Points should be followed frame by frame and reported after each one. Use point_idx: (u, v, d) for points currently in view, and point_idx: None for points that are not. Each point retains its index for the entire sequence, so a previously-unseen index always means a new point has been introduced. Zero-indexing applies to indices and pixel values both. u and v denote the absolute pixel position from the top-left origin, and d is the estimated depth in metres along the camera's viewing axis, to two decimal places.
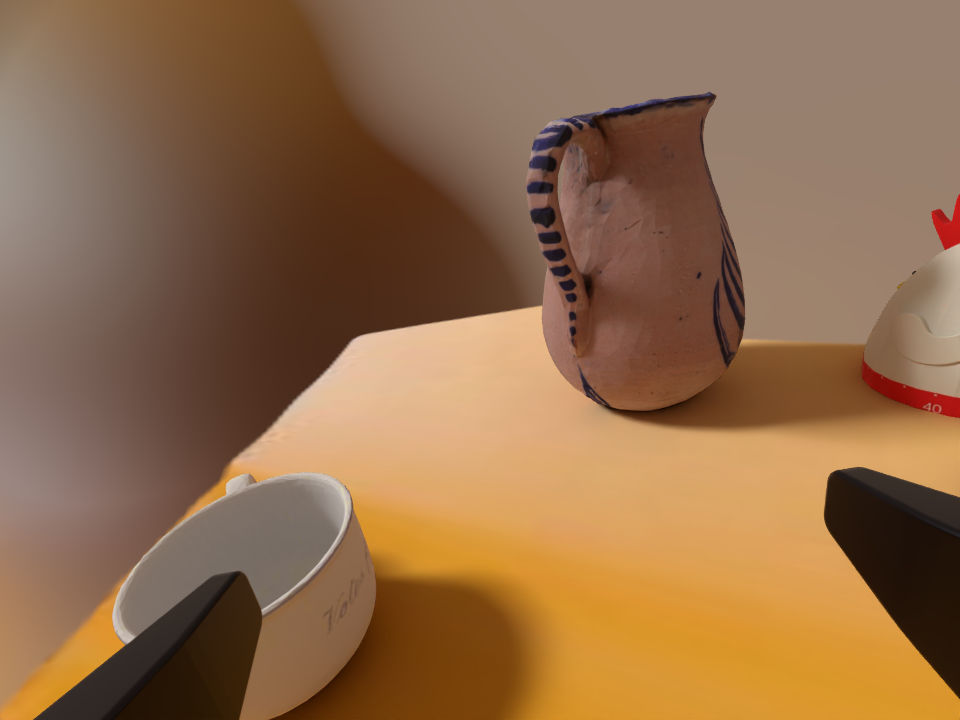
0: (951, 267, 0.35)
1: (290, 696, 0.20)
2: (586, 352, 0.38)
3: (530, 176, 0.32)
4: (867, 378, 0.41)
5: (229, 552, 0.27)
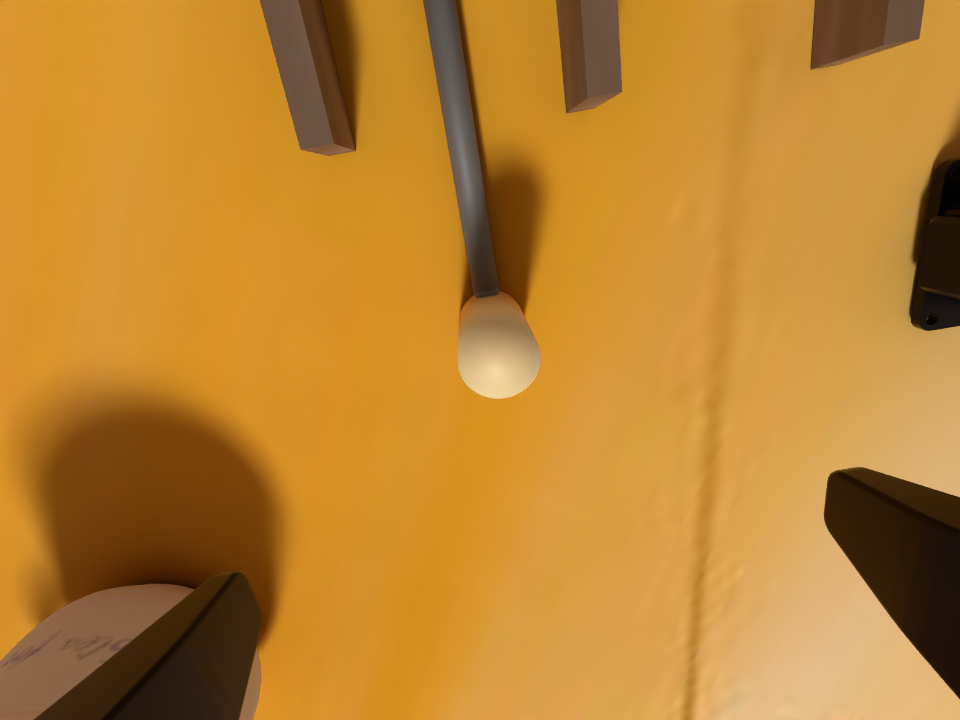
0: None
1: None
2: None
3: None
4: None
5: None
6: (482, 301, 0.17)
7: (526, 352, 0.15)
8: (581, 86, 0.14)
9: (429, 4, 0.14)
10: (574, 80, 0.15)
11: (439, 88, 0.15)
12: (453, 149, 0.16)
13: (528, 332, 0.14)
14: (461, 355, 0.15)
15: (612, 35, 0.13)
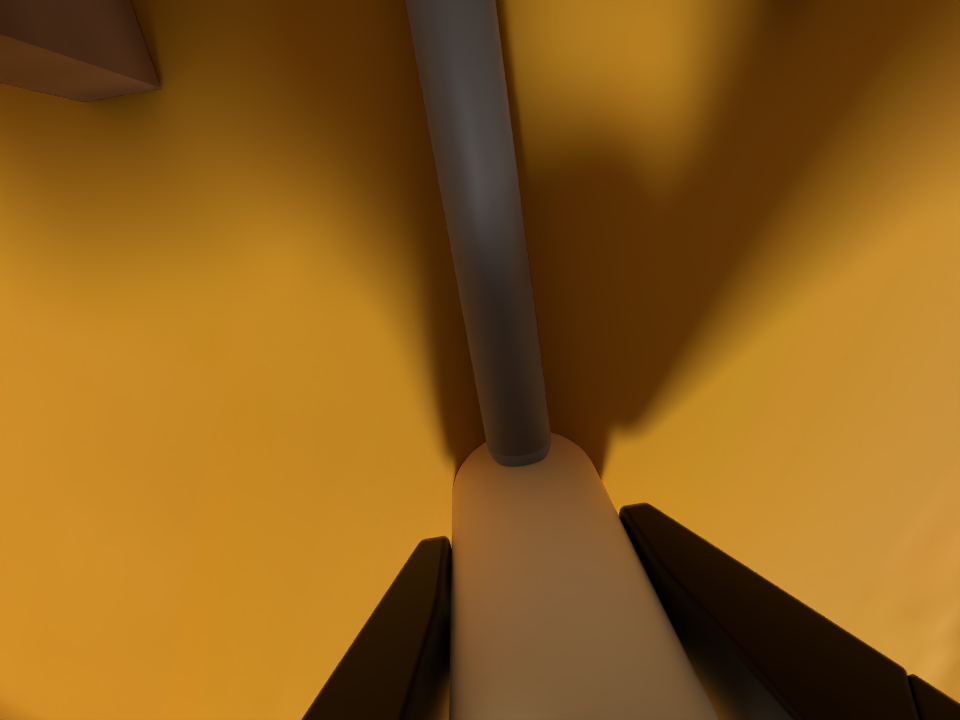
0: None
1: None
2: None
3: None
4: None
5: None
6: (514, 494, 0.06)
7: None
8: None
9: None
10: None
11: None
12: (432, 74, 0.05)
13: None
14: None
15: None
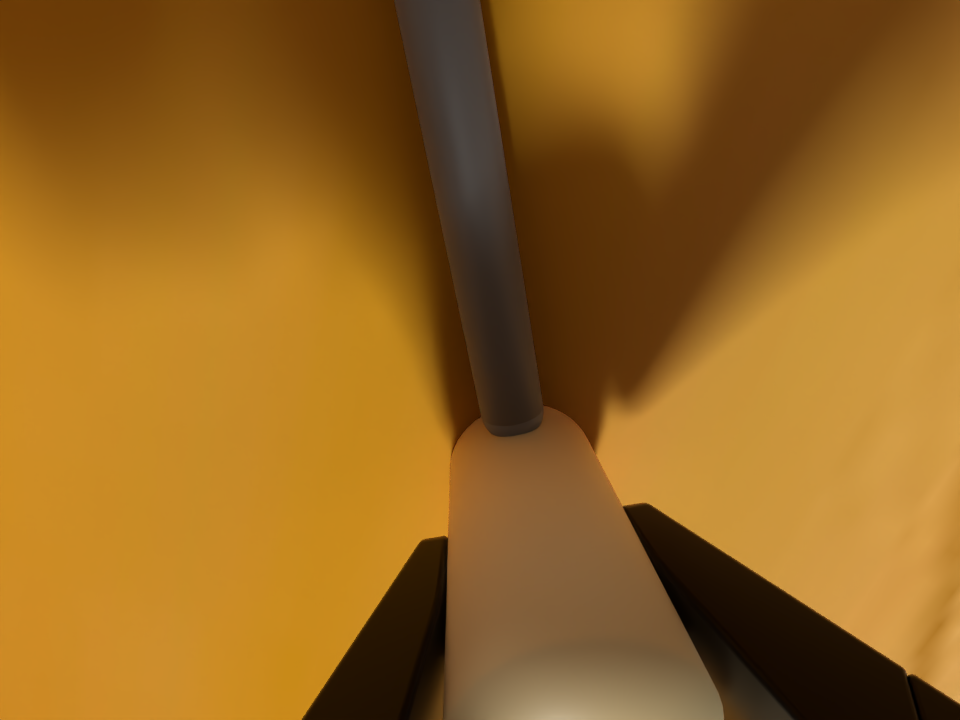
0: None
1: None
2: None
3: None
4: None
5: None
6: (507, 460, 0.07)
7: (677, 718, 0.04)
8: None
9: None
10: None
11: None
12: (417, 52, 0.05)
13: (691, 665, 0.04)
14: None
15: None
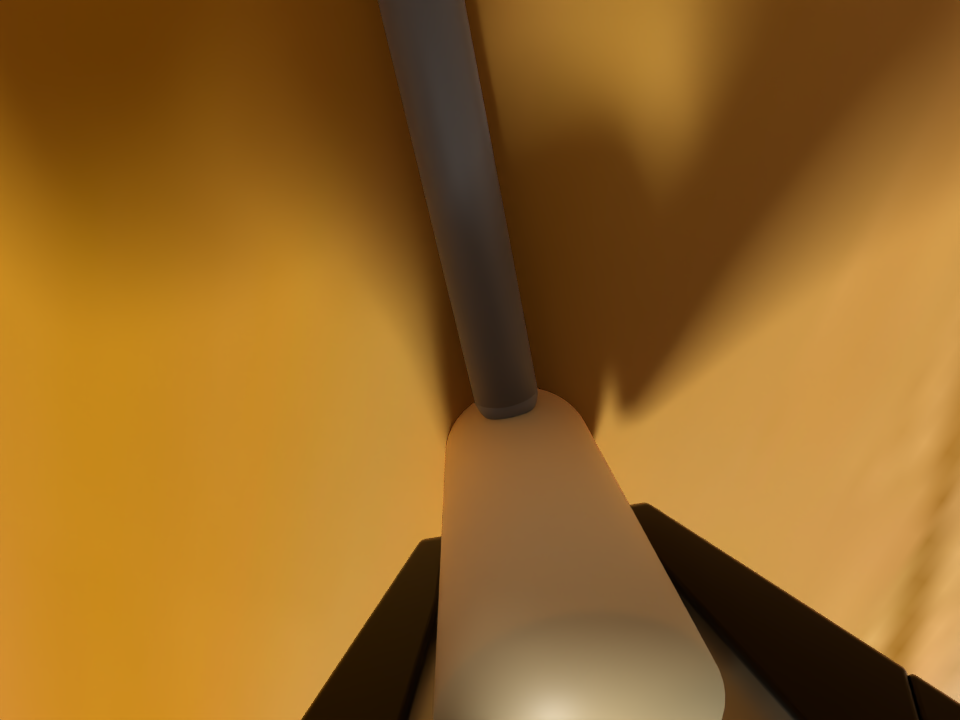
0: None
1: None
2: None
3: None
4: None
5: None
6: (500, 442, 0.06)
7: (676, 694, 0.04)
8: None
9: None
10: None
11: None
12: (395, 22, 0.05)
13: (688, 639, 0.04)
14: (446, 717, 0.04)
15: None
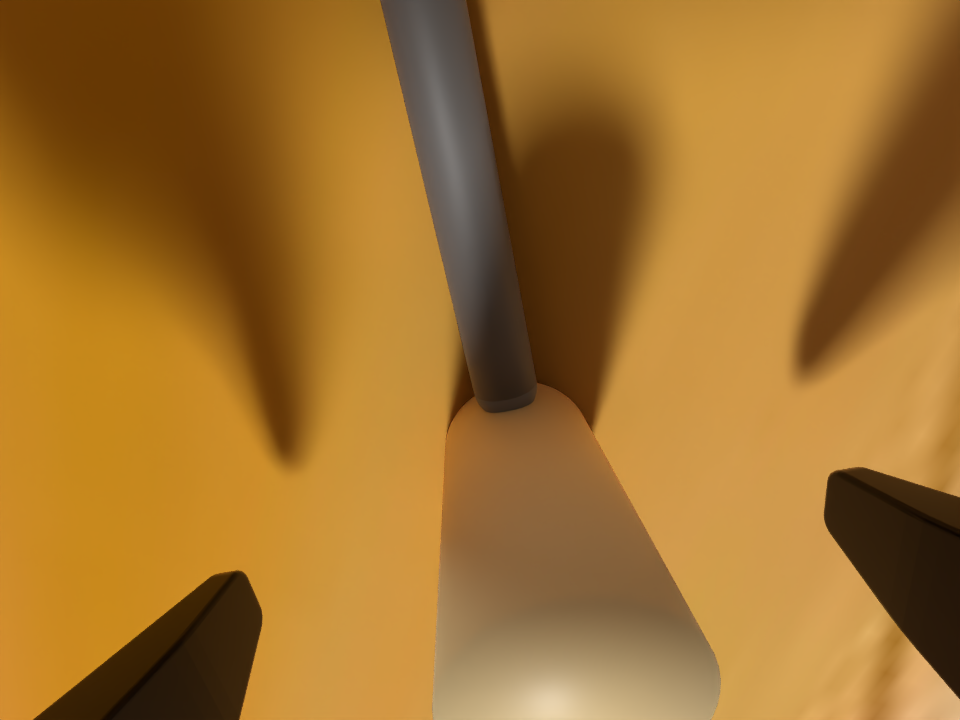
0: None
1: None
2: None
3: None
4: None
5: None
6: (500, 434, 0.06)
7: (673, 681, 0.04)
8: None
9: None
10: None
11: None
12: (397, 17, 0.05)
13: (684, 624, 0.04)
14: (445, 703, 0.04)
15: None
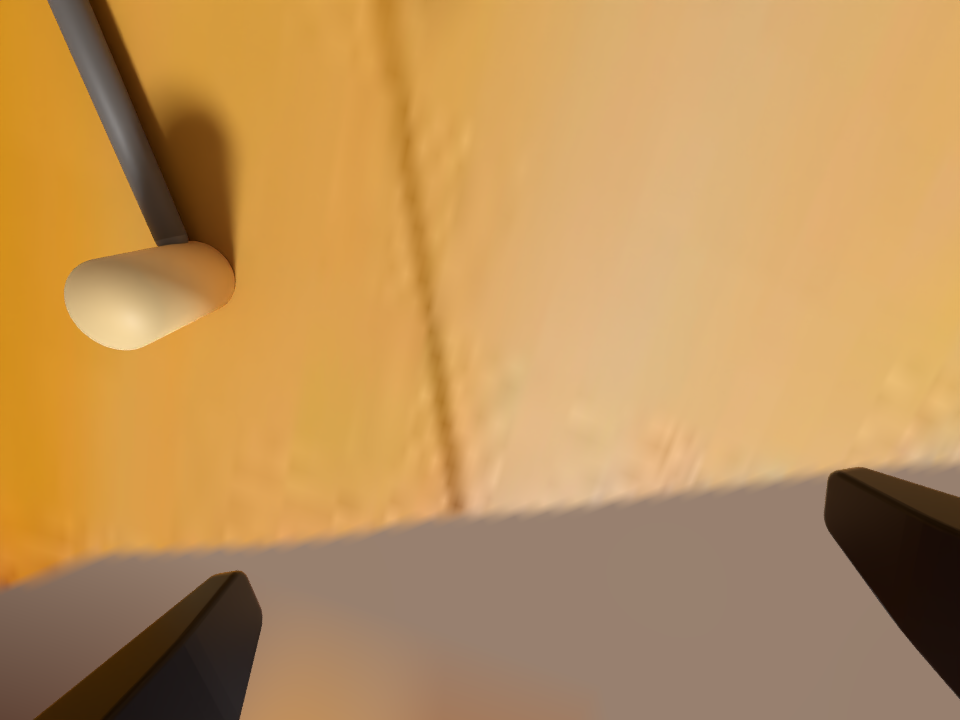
0: None
1: None
2: None
3: None
4: None
5: None
6: None
7: (142, 295, 0.13)
8: None
9: None
10: None
11: (51, 7, 0.14)
12: (82, 77, 0.14)
13: (137, 271, 0.13)
14: (69, 301, 0.13)
15: None
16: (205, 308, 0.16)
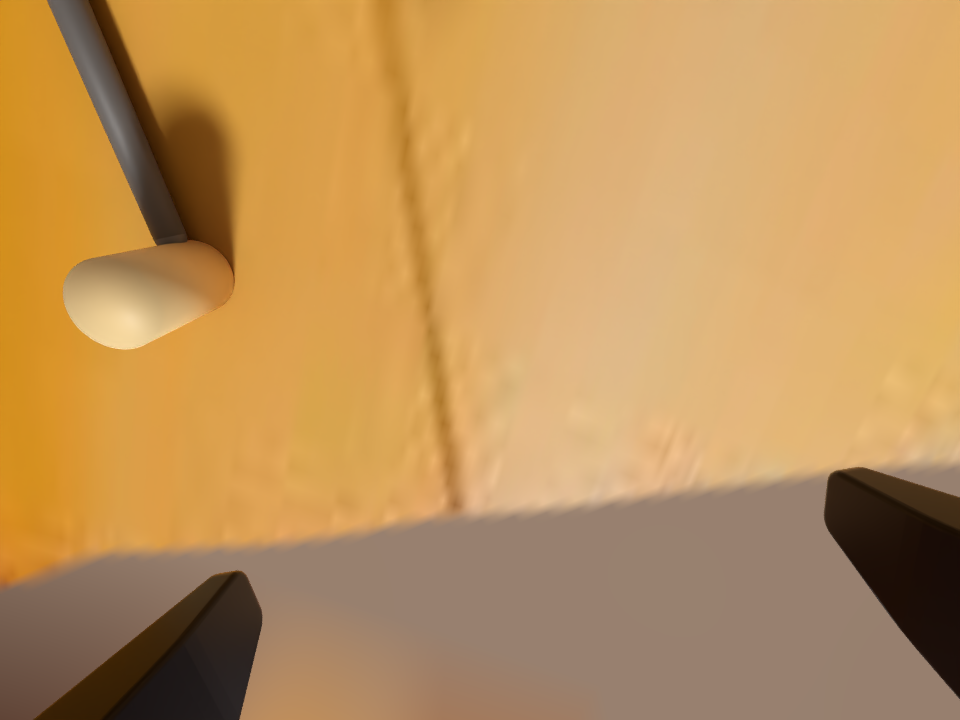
0: None
1: None
2: None
3: None
4: None
5: None
6: None
7: (141, 294, 0.13)
8: None
9: None
10: None
11: (50, 6, 0.14)
12: (81, 76, 0.14)
13: (136, 270, 0.13)
14: (67, 300, 0.13)
15: None
16: (204, 307, 0.16)
